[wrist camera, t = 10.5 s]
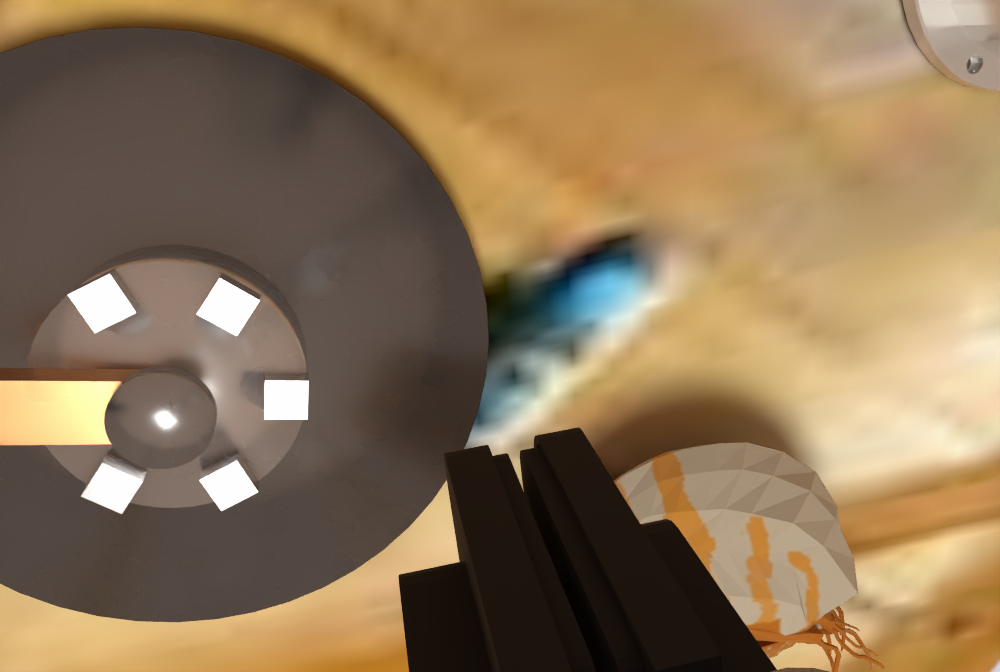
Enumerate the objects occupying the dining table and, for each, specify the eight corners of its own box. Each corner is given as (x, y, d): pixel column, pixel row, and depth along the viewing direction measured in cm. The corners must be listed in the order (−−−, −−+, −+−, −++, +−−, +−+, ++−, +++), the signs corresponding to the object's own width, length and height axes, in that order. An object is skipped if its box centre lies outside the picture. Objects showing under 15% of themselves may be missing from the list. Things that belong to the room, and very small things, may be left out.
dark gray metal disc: (440, -9, 33) (446, -12, 32) (512, 535, 42) (518, 550, 41) (-294, 75, 28) (-320, 76, 27) (-34, 664, 37) (-45, 685, 36)
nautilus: (891, 543, 49) (711, 706, 51) (677, 340, 40) (468, 550, 42) (992, 640, 42) (779, 824, 44) (762, 420, 33) (505, 667, 35)
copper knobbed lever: (310, 250, 33) (313, 321, 25) (304, 469, 36) (305, 600, 28) (-211, 226, 29) (-429, 302, 20) (-167, 478, 32) (-341, 636, 23)
